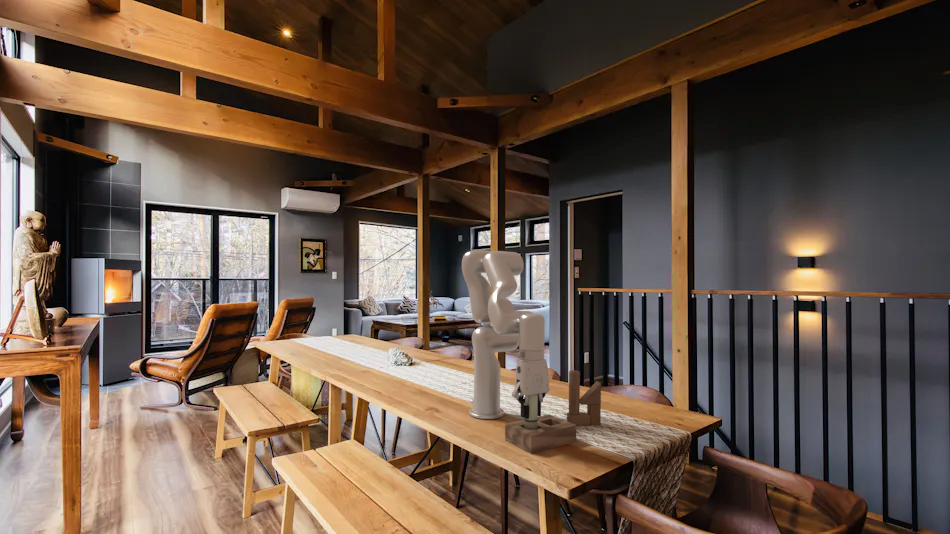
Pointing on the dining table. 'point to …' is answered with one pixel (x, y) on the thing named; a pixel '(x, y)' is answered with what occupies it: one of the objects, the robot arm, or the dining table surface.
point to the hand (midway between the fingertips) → (530, 415)
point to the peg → (532, 413)
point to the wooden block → (583, 402)
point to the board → (541, 434)
